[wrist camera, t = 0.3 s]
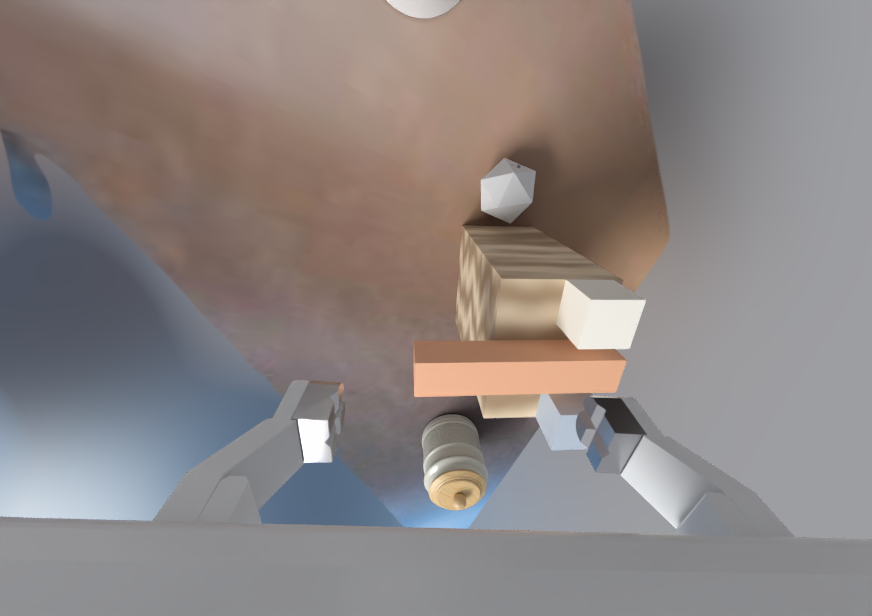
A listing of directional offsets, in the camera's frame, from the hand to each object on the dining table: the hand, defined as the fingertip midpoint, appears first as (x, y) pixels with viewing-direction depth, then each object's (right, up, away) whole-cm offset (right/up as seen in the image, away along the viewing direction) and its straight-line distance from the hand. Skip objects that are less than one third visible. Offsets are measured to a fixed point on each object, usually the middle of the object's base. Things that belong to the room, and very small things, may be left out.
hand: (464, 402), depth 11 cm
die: (+10, +23, +42) cm, 49 cm away
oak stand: (+9, +9, +49) cm, 50 cm away
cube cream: (+14, +4, +23) cm, 27 cm away
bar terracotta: (+7, -2, +25) cm, 26 cm away
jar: (+2, -26, +65) cm, 70 cm away
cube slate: (+14, -8, +28) cm, 32 cm away
